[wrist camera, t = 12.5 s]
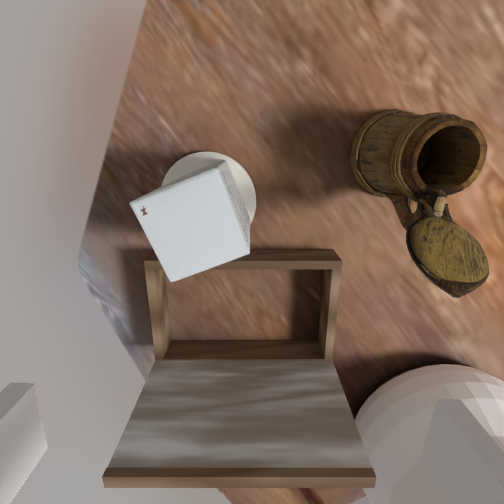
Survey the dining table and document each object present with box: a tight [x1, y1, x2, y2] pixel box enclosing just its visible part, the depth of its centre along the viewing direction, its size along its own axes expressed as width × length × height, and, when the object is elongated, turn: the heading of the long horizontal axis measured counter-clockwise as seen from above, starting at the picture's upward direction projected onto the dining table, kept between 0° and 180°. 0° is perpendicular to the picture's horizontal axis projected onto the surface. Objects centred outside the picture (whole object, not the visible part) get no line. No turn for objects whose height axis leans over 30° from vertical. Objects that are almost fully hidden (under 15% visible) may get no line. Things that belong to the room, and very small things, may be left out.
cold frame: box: [102, 250, 376, 488], centre depth 33 cm, size 14×22×19 cm, turn 90°
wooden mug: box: [351, 109, 489, 298], centre depth 28 cm, size 9×14×18 cm, turn 170°
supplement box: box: [130, 160, 250, 282], centre depth 31 cm, size 7×7×13 cm
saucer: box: [161, 151, 256, 224], centre depth 37 cm, size 11×11×1 cm
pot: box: [355, 364, 504, 504], centre depth 40 cm, size 28×24×17 cm
